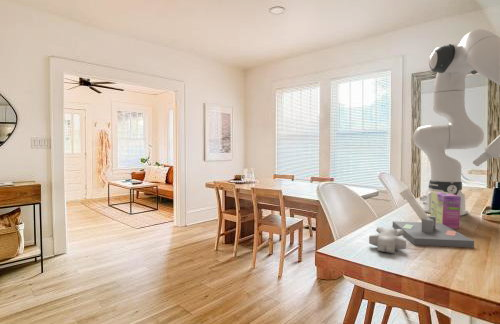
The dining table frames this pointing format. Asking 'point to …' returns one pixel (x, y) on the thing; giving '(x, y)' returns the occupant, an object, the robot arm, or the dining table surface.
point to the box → (446, 208)
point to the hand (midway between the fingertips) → (474, 164)
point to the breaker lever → (415, 204)
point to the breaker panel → (432, 234)
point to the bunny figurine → (388, 240)
